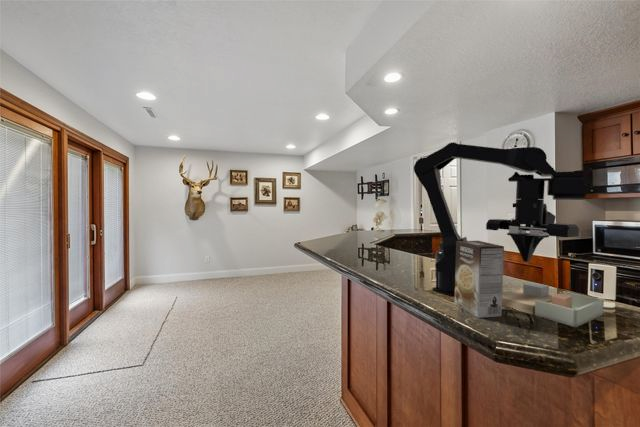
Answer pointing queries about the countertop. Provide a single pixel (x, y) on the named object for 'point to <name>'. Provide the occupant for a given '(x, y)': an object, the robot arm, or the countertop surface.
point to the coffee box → (479, 278)
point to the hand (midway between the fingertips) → (526, 261)
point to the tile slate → (536, 289)
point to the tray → (571, 310)
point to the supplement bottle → (439, 255)
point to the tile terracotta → (562, 300)
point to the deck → (522, 300)
